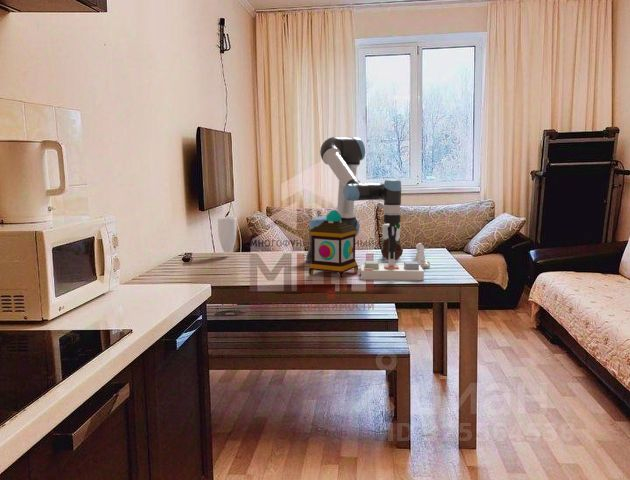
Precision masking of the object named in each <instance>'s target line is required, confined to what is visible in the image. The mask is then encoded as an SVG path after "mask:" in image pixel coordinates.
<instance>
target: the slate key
mask: <svg viewBox="0 0 630 480" xmlns="http://www.w3.org/2000/svg"><path fill="white" fill-rule="evenodd" d="M403 265H404V269H419V263H418V262H414V261H413V260H412V261H411V260H410V261H405V260H404V261H403Z"/></svg>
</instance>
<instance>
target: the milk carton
mask: <svg viewBox="0 0 630 480" xmlns="http://www.w3.org/2000/svg"><path fill="white" fill-rule="evenodd" d="M381 227H382V249H383V248H384V241H385V240H386V239H387V238H389V236H388V229H387V228H388V227H389V223H383V224H381ZM395 227H397V231H396V240H395V241H396V242H398V243H399V244H400V245H401V228H402V223H395ZM381 255H382V254H381ZM382 258H385V257H384V256H383V255H382Z"/></svg>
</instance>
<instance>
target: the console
mask: <svg viewBox="0 0 630 480" xmlns="http://www.w3.org/2000/svg"><path fill="white" fill-rule="evenodd" d="M384 265H385V264H379V269H373V268H365V264H360V278H361V280H374V281H375V280H378V281H379V280H383V281H384V280H387V281H388V280H389V281H390V280H391V281H393V280H397V281H399V280H400V281H401V280H402V281H403V280H404V281H406V280H407V281H424V277H425V271H424V268H422V267H421V266H420V265H419V269H404V264H397V265H398V267H399V269H384Z"/></svg>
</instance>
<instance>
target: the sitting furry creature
mask: <svg viewBox="0 0 630 480" xmlns="http://www.w3.org/2000/svg"><path fill="white" fill-rule="evenodd" d="M415 250H416V251H417V252H415V253H416V254H415V257H414V258H413V260H412V261H414V262H418V263H419V265H420V266H421V267H422V269H430V266H431V262H430V261H429V260H426V256H425V251H426V249H425V246H424V245H423V243H422V242H418V243H417V244H416V245H415Z"/></svg>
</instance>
